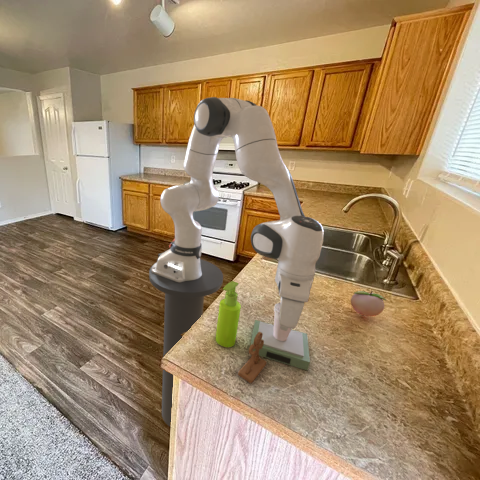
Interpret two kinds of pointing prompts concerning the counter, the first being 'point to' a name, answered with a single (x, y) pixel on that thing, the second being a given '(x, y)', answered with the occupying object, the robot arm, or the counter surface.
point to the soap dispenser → (228, 317)
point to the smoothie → (279, 333)
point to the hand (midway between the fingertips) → (283, 320)
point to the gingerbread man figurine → (253, 361)
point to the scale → (283, 346)
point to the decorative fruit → (367, 303)
